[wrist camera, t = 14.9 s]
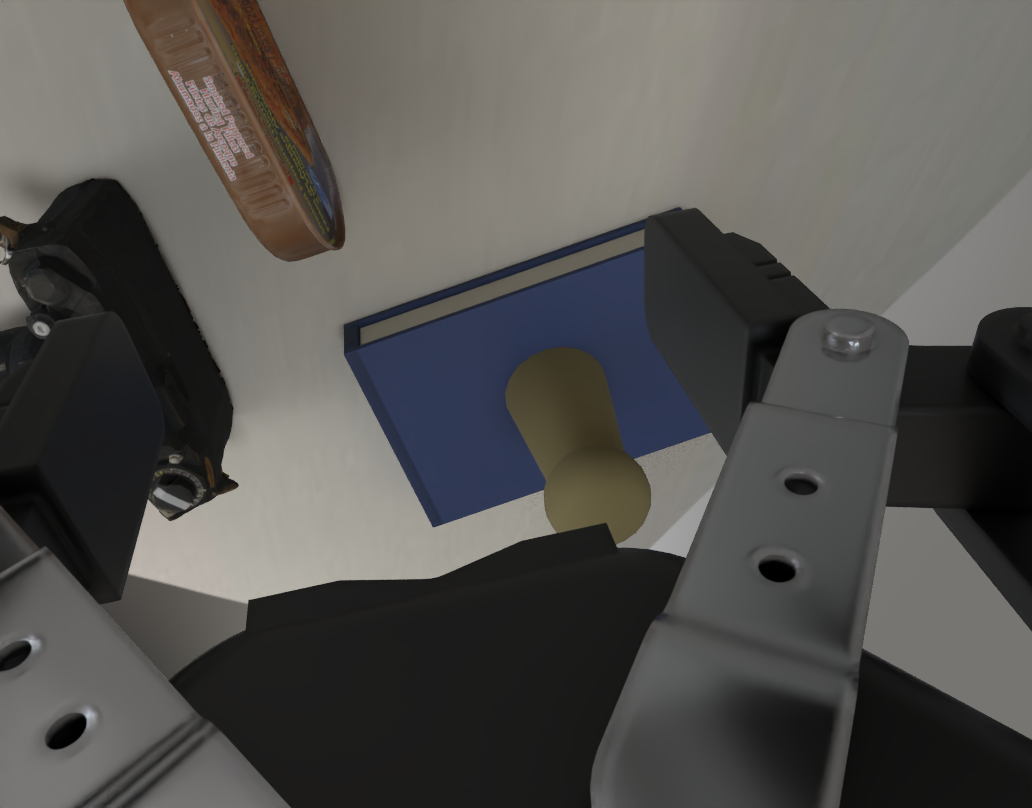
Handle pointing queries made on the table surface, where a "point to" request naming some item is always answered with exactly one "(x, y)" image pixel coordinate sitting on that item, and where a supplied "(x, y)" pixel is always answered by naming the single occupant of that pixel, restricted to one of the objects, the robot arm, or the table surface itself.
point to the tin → (247, 119)
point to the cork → (577, 443)
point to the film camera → (146, 314)
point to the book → (512, 369)
